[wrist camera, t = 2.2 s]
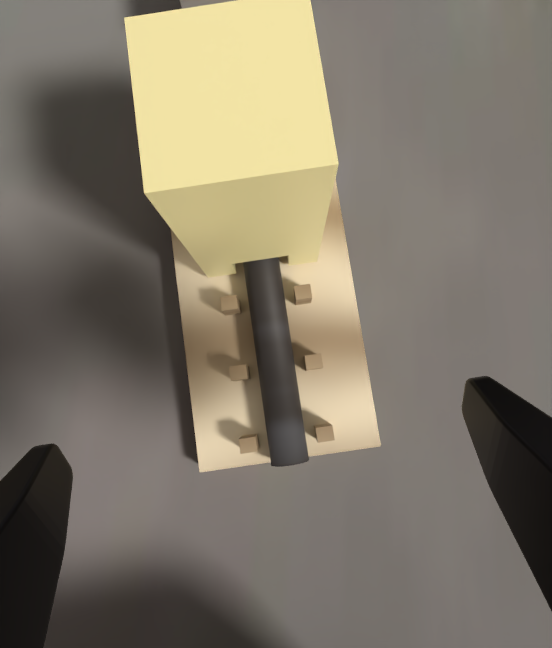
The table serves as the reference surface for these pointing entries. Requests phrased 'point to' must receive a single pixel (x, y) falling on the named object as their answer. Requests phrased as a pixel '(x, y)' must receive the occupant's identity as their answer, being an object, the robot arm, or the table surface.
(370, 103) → the table surface
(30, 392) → the table surface
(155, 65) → the yellow square block
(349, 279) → the comb board
